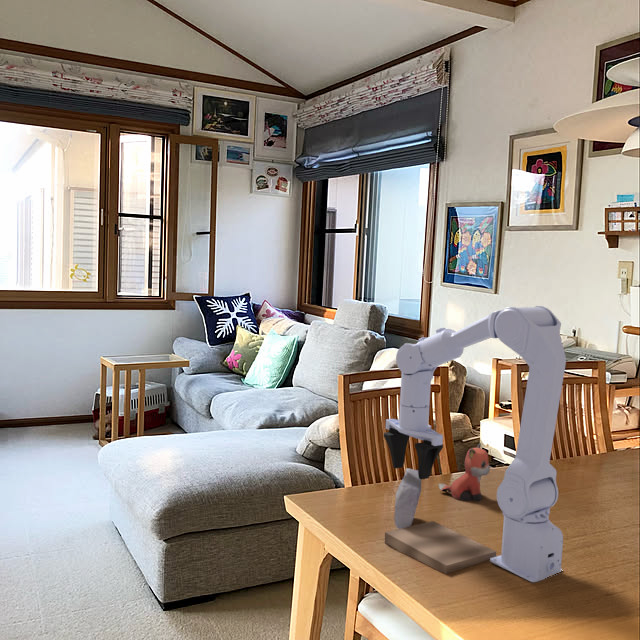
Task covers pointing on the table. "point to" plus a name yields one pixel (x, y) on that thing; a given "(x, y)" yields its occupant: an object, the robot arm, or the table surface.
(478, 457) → the stuffed fox
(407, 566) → the table surface
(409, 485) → the stone block
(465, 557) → the walnut base
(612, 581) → the table surface
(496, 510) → the table surface
